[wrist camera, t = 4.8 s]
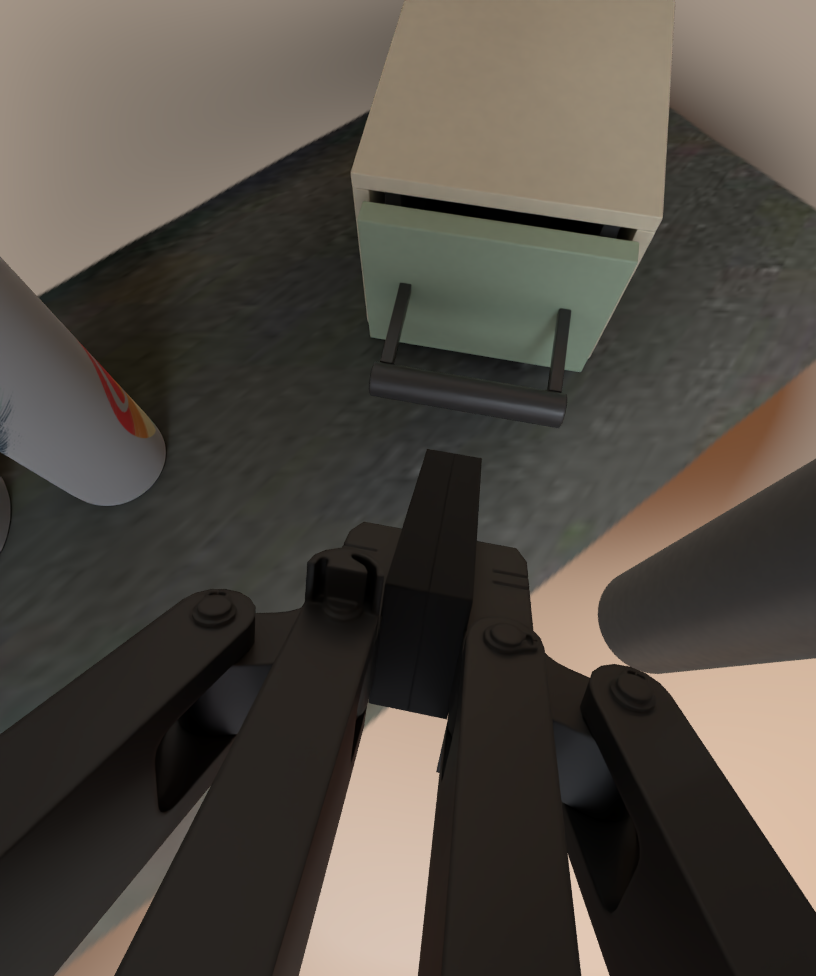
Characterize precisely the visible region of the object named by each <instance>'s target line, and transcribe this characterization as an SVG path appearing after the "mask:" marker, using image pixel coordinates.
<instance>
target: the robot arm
mask: <svg viewBox="0 0 816 976" xmlns="http://www.w3.org/2000/svg"><path fill="white" fill-rule="evenodd" d="M481 462H482V458H476V457H470V456H465V455H459V454H453V453H447V452H442V451H436V450H430V449H427V451H426V454H425V458H424V461H423V464H422V467H421V470H420V473H419V477H418V480H417V483H416V486H415V489H414V493H413V496H412V499H411V502H410V505H409V509H408V512H407V515H406V518H405V521H404V524H403V528H402V529H400V528H395V527H389V526H384V525H379V524H373V523H368V522H363V523H361V524H360V525H358V526H357V527H355V528H354V529H352V530H351V531H350V532H349V534H348V536H347V538H346V540H345V542H344V546H342V548H336V549H329V550H325V551H322V552H320V553H317V554H315V555H314V556H313V557H312V558H311V559H310V560H309V561H308V562H307V577H306V592H305V602H304V604H303V606H302V608H299V609H296V610H292V611H288V612H278V613H255V610H256V607H255V605H254V604H253V602H252V601H251V599H250V598H249V597H247V596H245V595H243V594H242V593H240V592H236V591H232V590H227V589H210V590H205V591H201V592H197V593H194V594H192V595H190V596H188V597H187V598H185V599H183V600H181V601H180V602H179V603H177V604H176V605H175V606H173V607H172V608H170V609H169V610H168V611H166V612H165V613H164V614H162V615H161V616H160V617H158V618H157V619H156V620H154V621H153V622H152V623H150V624H149V625H147V626H146V627H145V628H143V629H142V630H141V631H139V632H138V633H137V634H135V635H134V636H133V637H131V638H130V639H129V640H127V641H126V642H125V643H123V644H122V645H120V646H119V647H118V648H116V649H115V650H114V651H112V652H111V653H110V654H108V655H107V656H106V657H104V658H103V659H102V660H100V661H99V662H97V663H96V664H95V665H93V666H92V667H91V668H89V669H88V670H87V671H85V672H84V673H83V674H81V675H80V676H79V677H77V678H76V679H74V680H73V681H72V682H70V683H69V684H68V685H66V686H65V687H64V688H62V689H61V690H60V691H58V692H57V693H56V694H54V695H53V696H52V697H50V698H49V699H47V700H46V701H45V702H43V703H42V704H41V705H39V706H38V707H37V708H35V709H34V710H33V711H31V712H30V713H29V714H27V715H26V716H24V717H23V718H22V719H20V720H19V721H18V722H16V723H15V724H14V725H12V726H11V727H10V728H8V729H7V730H6V731H4V732H3V733H1V734H0V976H54V975H55V973H56V972H57V971H58V970H59V968H60V967H61V966H62V965H63V964H64V962H65V961H66V960H67V959H68V958H69V956H70V955H71V954H72V953H73V952H74V950H75V949H76V948H77V947H78V945H79V944H80V943H81V942H82V941H83V939H84V938H85V937H86V936H87V935H88V933H89V932H90V931H91V930H92V929H93V927H94V926H95V925H96V924H97V922H98V921H99V920H100V919H101V918H102V916H103V915H104V914H105V913H106V912H107V910H108V909H109V908H110V907H111V906H112V904H113V903H114V902H115V901H116V899H117V898H118V897H119V896H120V895H121V893H122V892H123V891H124V890H125V889H126V887H127V886H128V885H129V884H130V883H131V881H132V880H133V879H134V878H135V876H136V875H137V874H138V873H139V872H140V870H141V869H142V868H143V867H144V866H145V864H146V863H147V862H148V861H149V860H150V858H151V857H152V856H153V855H154V853H155V852H156V851H157V850H158V849H159V847H160V846H161V845H162V844H163V843H164V841H165V840H166V839H167V838H168V837H169V835H170V834H171V833H172V832H173V830H174V829H175V828H176V827H177V826H178V824H179V823H180V822H181V821H182V820H183V818H184V817H185V816H186V815H187V814H188V812H189V811H190V810H191V809H192V807H193V806H194V805H195V804H196V803H197V801H198V800H199V799H200V798H201V797H202V795H203V794H204V793H205V792H206V791H207V789H208V788H209V787H210V786H211V787H210V789H209V791H208V793H207V795H206V797H205V799H204V801H203V802H202V804H201V806H200V808H199V810H198V812H197V814H196V816H195V818H194V820H193V822H192V824H191V826H190V828H189V830H188V832H187V834H186V836H185V838H184V840H183V842H182V844H181V846H180V848H179V850H178V852H177V853H176V855H175V857H174V859H173V861H172V863H171V865H170V867H169V869H168V871H167V873H166V875H165V877H164V879H163V881H162V883H161V885H160V887H159V889H158V891H157V893H156V895H155V897H154V899H153V901H152V903H151V904H150V906H149V908H148V910H147V912H146V914H145V916H144V918H143V920H142V922H141V924H140V926H139V928H138V930H137V932H136V934H135V936H134V938H133V940H132V942H131V944H130V946H129V948H128V950H127V952H126V954H125V956H124V958H123V959H122V962H121V963H120V965H119V967H118V969H117V971H116V973H115V975H114V976H299V972H300V968H301V964H302V961H303V957H304V953H305V949H306V945H307V942H308V938H309V934H310V930H311V926H312V922H313V918H314V914H315V911H316V907H317V903H318V900H319V896H320V892H321V888H322V884H323V881H324V877H325V873H326V869H327V865H328V861H329V858H330V854H331V850H332V846H333V842H334V838H335V835H336V831H337V827H338V823H339V820H340V816H341V812H342V808H343V804H344V800H345V797H346V792H347V789H348V785H349V781H350V778H351V773H352V770H353V766H354V762H355V759H356V754H357V751H358V747H359V743H360V739H361V736H362V732H363V728H364V722H365V715H366V708H367V703H368V699H369V703H371V704H376V705H381V706H385V707H390V708H395V709H400V710H405V711H409V712H414V713H419V714H424V715H429V716H434V717H439V718H443V719H447V716H448V722H447V726H446V730H445V735H444V740H443V744H442V749H441V754H440V757H439V762H438V767H437V771H436V772H438V773H440V774H439V783H438V784H439V785H438V792H437V802H436V811H435V821H434V830H433V840H432V850H431V858H430V867H429V877H428V886H427V896H426V905H425V915H424V924H423V933H422V934H423V935H422V943H421V952H420V961H419V971H418V976H581V969H580V961H579V951H578V943H577V934H576V925H575V916H574V907H573V898H572V890H571V880H570V872H569V863H568V855H569V858H570V861H571V864H572V867H573V870H574V873H575V876H576V879H577V882H578V885H579V888H580V891H581V894H582V897H583V899H584V902H585V905H586V908H587V911H588V914H589V917H590V920H591V923H592V926H593V928H594V931H595V934H596V937H597V940H598V943H599V946H600V949H601V952H602V955H603V957H604V961H605V964H606V966H607V969H608V972H609V975H610V976H816V912H815V911H814V909H813V908H812V906H811V905H810V903H809V902H808V900H807V899H806V897H805V896H804V894H803V893H802V891H801V890H800V888H799V887H798V885H797V884H796V882H795V881H794V879H793V878H792V876H791V875H790V873H789V872H788V870H787V869H786V867H785V866H784V864H783V863H782V861H781V860H780V858H779V857H778V855H777V854H776V852H775V851H774V849H773V848H772V846H771V845H770V843H769V842H768V840H767V839H766V837H765V836H764V834H763V833H762V831H761V830H760V828H759V827H758V825H757V824H756V822H755V821H754V819H753V818H752V816H751V815H750V813H749V812H748V810H747V809H746V807H745V806H744V804H743V803H742V801H741V800H740V798H739V797H738V795H737V794H736V792H735V791H734V789H733V788H732V786H731V785H730V783H729V782H728V780H727V779H726V777H725V776H724V774H723V773H722V771H721V770H720V768H719V767H718V766H717V764H716V762H715V761H714V759H713V758H712V756H711V755H710V753H709V752H708V750H707V749H706V747H705V746H704V744H703V743H702V741H701V740H700V738H699V737H698V735H697V734H696V732H695V731H694V729H693V728H692V726H691V725H690V723H689V722H688V720H687V719H686V717H685V716H684V714H683V713H682V711H681V710H680V708H679V707H678V705H677V704H676V702H675V701H674V699H673V698H672V696H671V695H670V694H669V693H668V691H666V689H665V688H664V687H663V686H662V685H661V684H660V683H659V682H657V681H656V680H655V679H653V678H652V677H650V676H649V675H647V674H646V673H644V672H641V671H639V670H636V669H634V668H632V667H628V666H622V665H617V664H612V665H604V666H600V667H599V668H597V669H596V670H594V671H593V672H592V674H591V677H590V678H589V677H587V676H584V675H582V674H580V673H578V672H575V671H573V670H571V669H568V668H567V667H565V666H563V665H561V664H559V663H557V662H556V661H554V660H553V659H552V658H550V657H549V656H548V655H547V654H546V653H545V650H544V646H543V644H542V641H541V639H540V637H539V636H538V635H537V634H536V633H535V632H534V631H533V623H532V613H531V602H530V591H529V580H528V570H527V562H526V560H525V559H524V558H523V556H522V555H521V554H520V552H519V551H518V550H517V548H511V547H506V546H501V545H495V544H490V543H484V542H479V541H477V528H478V511H479V495H480V478H481ZM211 784H212V785H211ZM567 853H568V854H567Z"/></svg>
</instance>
